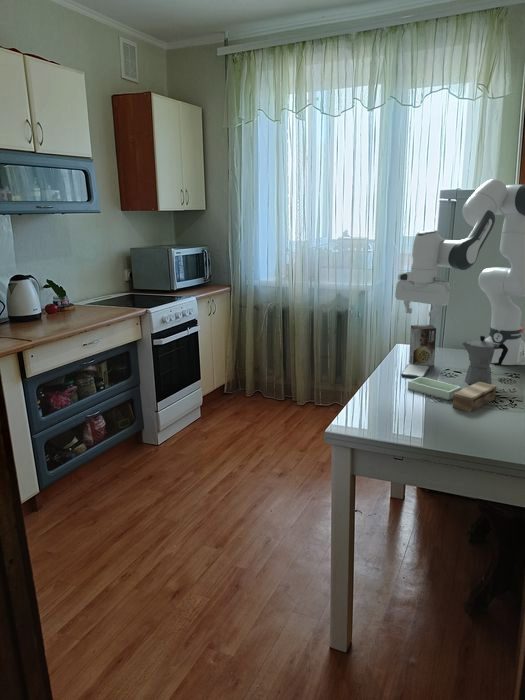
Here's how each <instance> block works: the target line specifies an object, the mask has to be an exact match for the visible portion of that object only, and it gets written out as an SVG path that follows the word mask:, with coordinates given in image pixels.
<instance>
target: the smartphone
mask: <svg viewBox="0 0 525 700" xmlns="http://www.w3.org/2000/svg"><path fill="white" fill-rule="evenodd" d="M429 371H430V366H421V365H412V364H407V366H405V368H404V370H403V371H402V372H401V374H400V376H402V377H401V378H404V377H406V378H407V379H412V380H413V379H415V378H418V377H420V376H421V377H425V378H426V376H427V374H428V372H429ZM406 378H405V379H406Z"/></svg>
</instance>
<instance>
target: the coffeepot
mask: <svg viewBox="0 0 525 700" xmlns="http://www.w3.org/2000/svg"><path fill="white" fill-rule="evenodd" d="M479 338H480V340H471V341H465V342H463V343H462V345H463V346H464V348H465V350H466V352H467V354H468V360H469V363H470V364H469V365H468V368H467V371H466V375H465V378H464V382H465V383H466V384H467V385H469V386H471V385H473V384H475V383H477V382H483V383H487V384H491V385H493V384H492V383H493V382H492V371H491V369H492V368H491V367H490V365H491V364H492V363H491V361H492V358H493V354H494V350H495V349H503V351H502V353H501V356H500V358H499V362H498V363H493V364H494V366H498V367H499V366H501V363H502V362H503V360H504V358H505V356H506V354H507V352H508V348H507V347H506V346H505V344H498V343H492V342H487V341H485V340H486V336H484V335H480V336H479Z"/></svg>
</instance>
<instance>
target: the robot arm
mask: <svg viewBox="0 0 525 700" xmlns="http://www.w3.org/2000/svg"><path fill="white" fill-rule="evenodd" d="M461 210H462V211H461V213H462V217H463V219H464V220H465V222H466V223H467V224H468V225H469V226H470V227H473V228H472V230H471V231H470V233H469V235H468V236H467V237H466V238H463V239H459V240H456V239H446V238H444V237H442V236H441V235H440V233H439V230H436V229H426V230H419V232H417V233H416V234H415V237H414V239H413V240H414V241H413V245H412V255H411V257H412V263H411V267H410V271H407V272H404V273H399V274H398V276H397V279H398V281H397V283H396V287H395V293H394V295H395V297H394V298H395V299H396V300H397V301H402V302H403V306H404V307H405V313H406V314H412V313H413V308H411V306H410V303H419V304H420V303H421V304H426V305H432V306H431V307H432V310H431V311H429V312H428V318H435V317H436V312H438V309H439V308H440V306H442V307H444V306H448V305H449V303H450V289H451V283H450V281H449V280H448V279H447V278H439V277H437V275H438V267H441V268H449V269H454V270H455V269H456V270H461V271H466V270H468V269H470V268H471V267H472V266H473V265H474V264H475V263H476V261H477V260H478V257H479V254H480V250H481V249H482V247H483V246H484V244H485V242H486V240H487V238H488V237H489V235H490V234H491V232H492V229H493V227H494V225H495V223H496V216H495V215H499V216H504V219H503V224H502V229H501V236H500V245H499V253H500V255H501V256H502V257H504V258H505V259H507V260H508V261H509V264H510V267H499V266H496V267H495V266H494V267H487V268H484V269H483V270H482V271H481V272H480V273H479V276H478V280H477V282H478V287H479V288H480V290H481V291H483V293H485V295H486V296H487V298H488V301H489V304H490V307H491V319H490V320H491V322H490V327H489V329H488V337H485V339H484V341H487V342H492V343H498V344H505V346H506V347H507V348H508V352H507V354H506V356H505V358H504V360H503V362H502V363H501V365H502V366H516V365H517V366H525V341H524V339H522V334H523V333H524V330H525V329H524V328H523V327H521V323H522V310H521V308H520V307H519V306H518V305H517V304H515V303H514V302H513V300H512V298H511V296H514V297H520V298H525V184H505V183H504V182H503V181H502V180H500V179H497V178H491V179H488V180H486V181H485V182H484V183H482V184H481V185H480V186H478V188H476V190H474V192H472V194H471V195H470V196H469V197H468V199H466V201H465V203H464V204H463V207H462V208H461ZM502 351H503V349H495V350H494V354H493V358H492V361H491V363H490V364H494V363H498V362H499V358H500V356H501V353H502ZM501 365H500V366H501Z"/></svg>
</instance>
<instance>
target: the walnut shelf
mask: <svg viewBox="0 0 525 700" xmlns="http://www.w3.org/2000/svg"><path fill="white" fill-rule="evenodd" d="M496 390H497V385H494V384H487V383H483V382H477V383H475V384H473V385H469V386H467V387H464V388H461V390H460V391H458V392H456V393H454V396H453V400H452V408H454V409H458V410H462V411H465V412H468V413H472V412H473V411H475V410H477V409H479V408H481V407H482V406H485V405H486V404H488V403H490V402H492V401H494V400H495V399H496Z"/></svg>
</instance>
